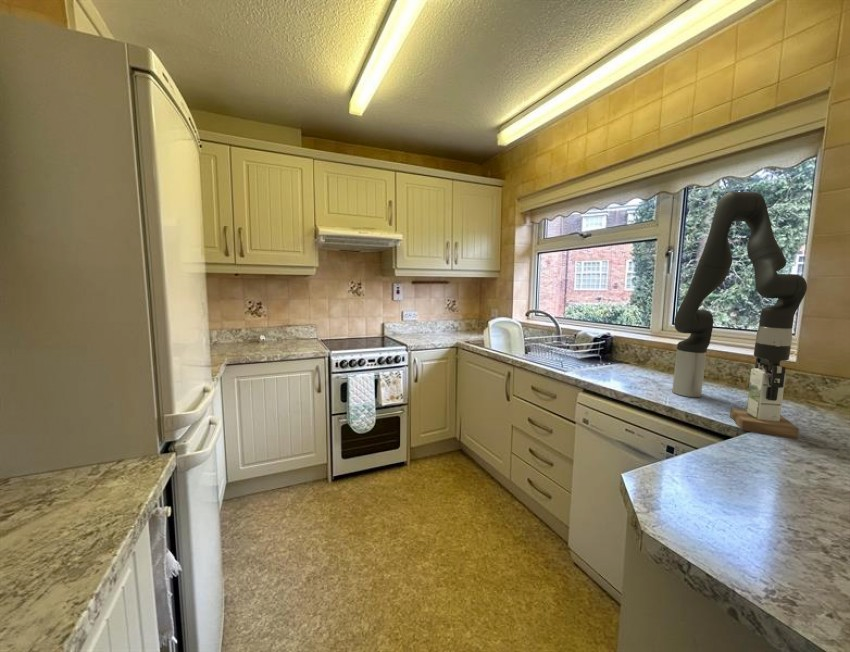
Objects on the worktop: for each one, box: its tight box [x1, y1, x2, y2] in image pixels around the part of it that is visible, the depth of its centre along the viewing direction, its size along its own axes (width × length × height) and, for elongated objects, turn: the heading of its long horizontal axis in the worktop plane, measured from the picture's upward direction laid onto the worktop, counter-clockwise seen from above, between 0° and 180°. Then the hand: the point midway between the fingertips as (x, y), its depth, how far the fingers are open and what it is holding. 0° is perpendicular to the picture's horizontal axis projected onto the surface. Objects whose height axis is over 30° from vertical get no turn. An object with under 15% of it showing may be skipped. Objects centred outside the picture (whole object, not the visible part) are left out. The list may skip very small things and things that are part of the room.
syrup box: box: [745, 367, 787, 421], centre depth 106 cm, size 6×6×14 cm
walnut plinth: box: [729, 407, 800, 440], centre depth 107 cm, size 12×12×3 cm
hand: (765, 395), depth 106 cm, fingers open, 8 cm apart
